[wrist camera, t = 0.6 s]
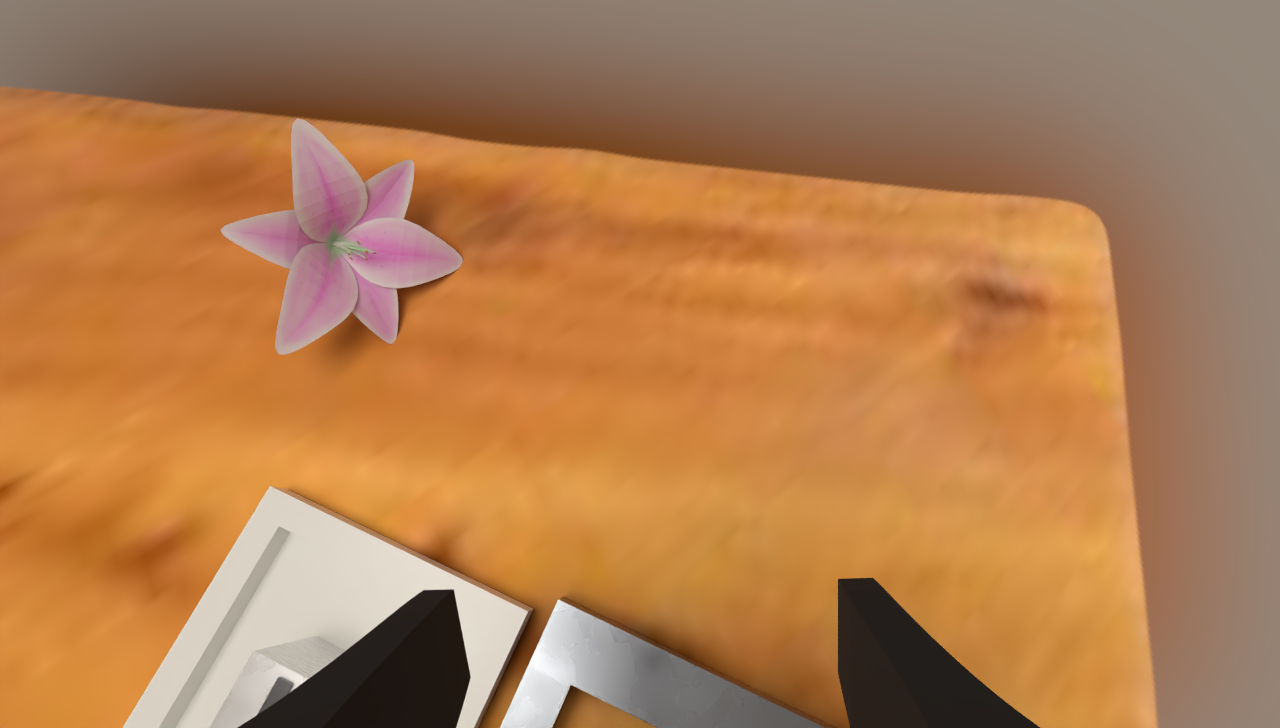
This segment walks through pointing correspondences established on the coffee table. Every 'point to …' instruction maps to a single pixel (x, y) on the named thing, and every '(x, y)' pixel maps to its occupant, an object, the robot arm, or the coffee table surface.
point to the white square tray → (316, 609)
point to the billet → (273, 678)
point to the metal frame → (636, 680)
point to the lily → (342, 244)
